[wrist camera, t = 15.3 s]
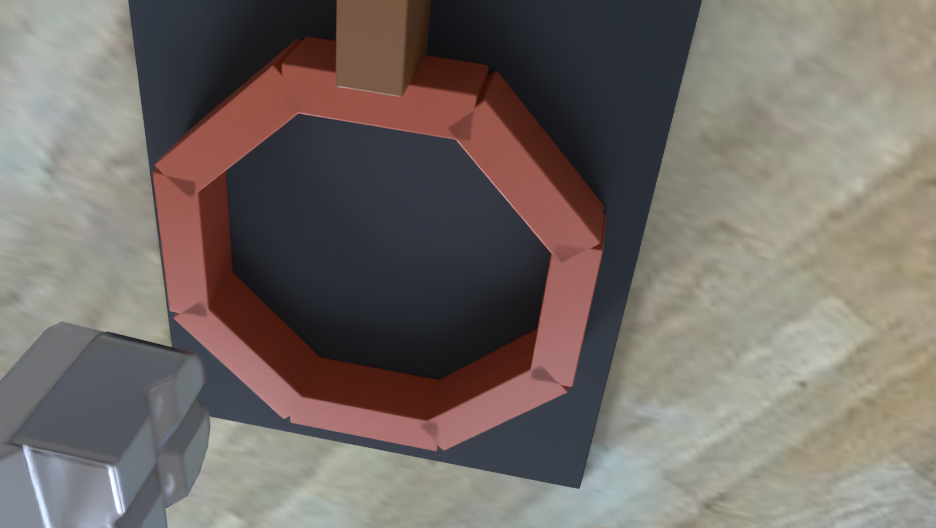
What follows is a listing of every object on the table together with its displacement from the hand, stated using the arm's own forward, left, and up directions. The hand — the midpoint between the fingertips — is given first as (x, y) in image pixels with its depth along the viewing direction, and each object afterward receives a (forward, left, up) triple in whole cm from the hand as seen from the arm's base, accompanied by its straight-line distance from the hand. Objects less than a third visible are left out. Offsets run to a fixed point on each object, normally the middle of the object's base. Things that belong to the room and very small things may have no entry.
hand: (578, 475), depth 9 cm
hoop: (+9, -7, -20) cm, 23 cm away
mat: (+11, -7, -21) cm, 24 cm away
